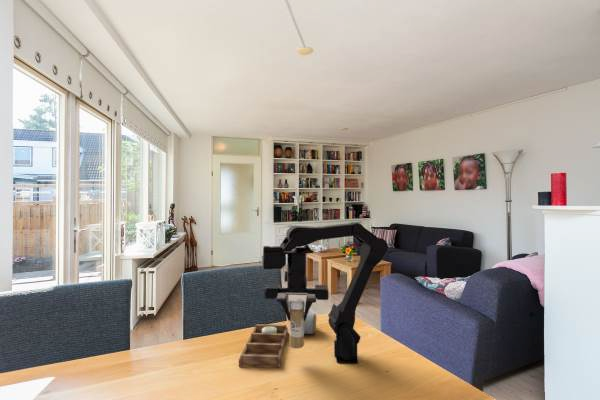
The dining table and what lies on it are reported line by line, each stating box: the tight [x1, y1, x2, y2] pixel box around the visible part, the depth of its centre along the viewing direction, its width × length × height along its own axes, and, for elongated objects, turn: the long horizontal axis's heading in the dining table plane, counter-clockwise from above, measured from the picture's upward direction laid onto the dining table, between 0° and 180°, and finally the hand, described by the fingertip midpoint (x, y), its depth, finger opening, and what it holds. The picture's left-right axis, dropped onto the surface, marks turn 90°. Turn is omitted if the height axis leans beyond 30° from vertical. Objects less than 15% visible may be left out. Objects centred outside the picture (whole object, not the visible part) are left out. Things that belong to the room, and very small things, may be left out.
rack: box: [238, 323, 289, 369], centre depth 99 cm, size 12×23×3 cm, turn 176°
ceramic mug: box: [304, 311, 317, 335], centre depth 111 cm, size 11×8×8 cm
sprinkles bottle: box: [288, 298, 306, 349], centre depth 89 cm, size 5×5×14 cm
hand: (296, 320), depth 89 cm, fingers closed on sprinkles bottle, 4 cm apart
